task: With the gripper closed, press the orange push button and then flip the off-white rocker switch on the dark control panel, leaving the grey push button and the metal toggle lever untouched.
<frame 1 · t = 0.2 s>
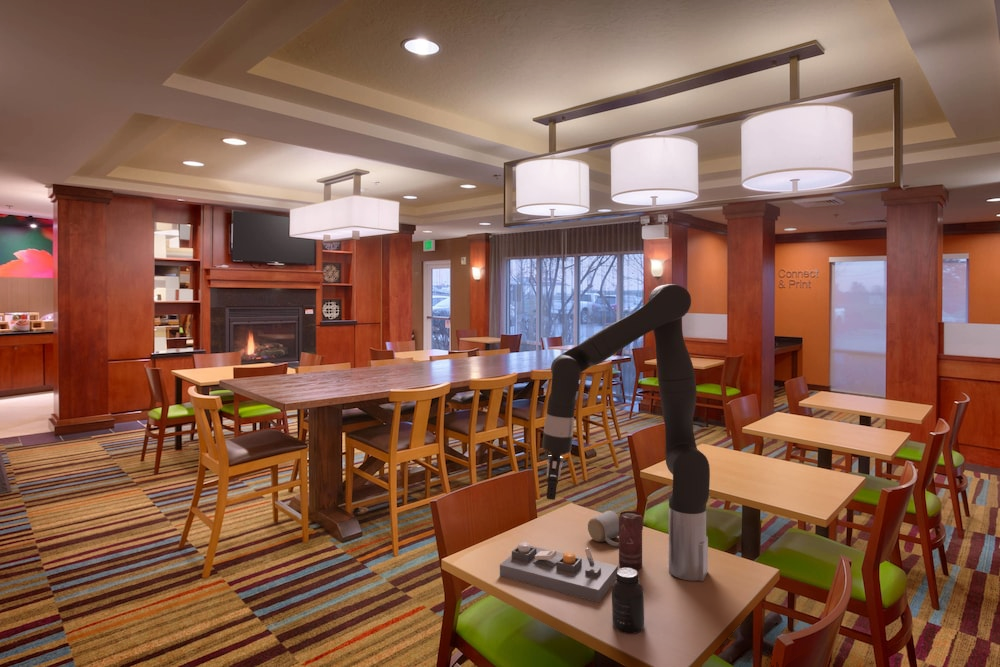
hand: (551, 493, 145), 21 cm above the table, tool pointing down, fingers open, 8 cm apart
rocker switch: (545, 555, 146), point 5 cm above the table, hinge at 14.0°
ceramic mug: (608, 540, 167), on the table
can: (631, 566, 150), on the table
control panel: (558, 576, 145), on the table
grey button: (524, 548, 150), point 5 cm above the table, slide at 0.0 cm
supplement bottle: (628, 626, 122), on the table
orange button: (569, 558, 143), point 5 cm above the table, slide at 0.0 cm
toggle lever: (589, 557, 140), point 7 cm above the table, hinge at 20.0°
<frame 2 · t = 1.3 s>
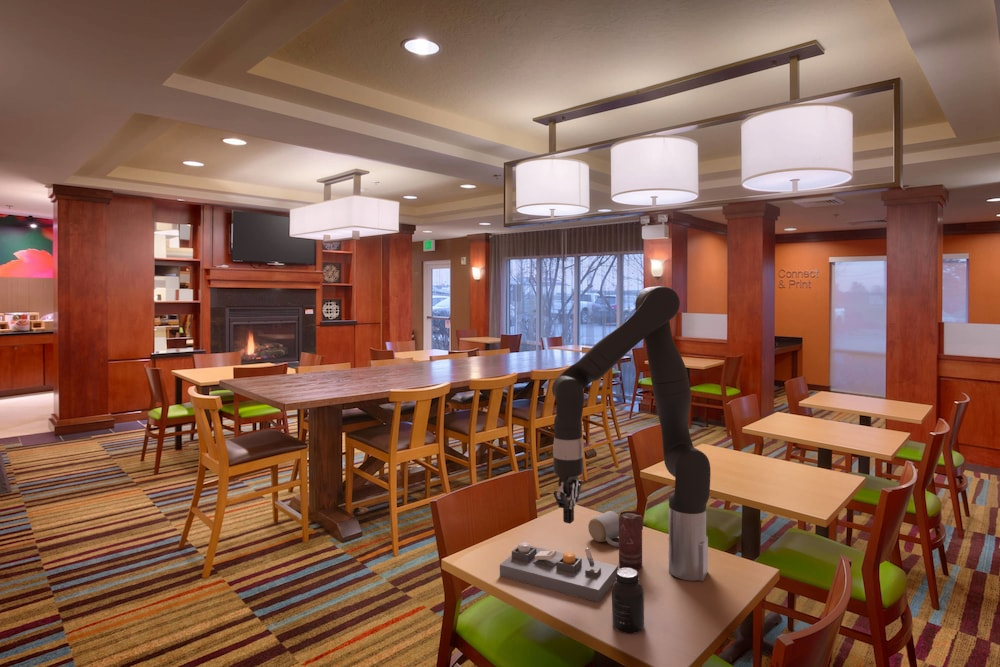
hand: (568, 521, 143), 15 cm above the table, tool pointing down, fingers closed
nothing on the table moved.
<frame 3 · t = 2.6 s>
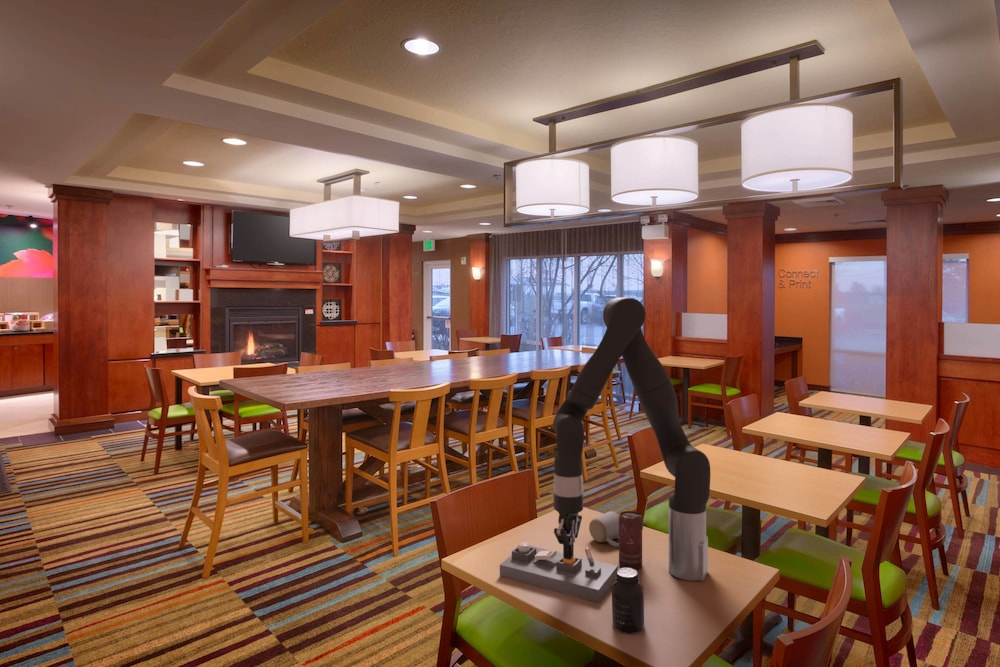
hand: (568, 557, 143), 6 cm above the table, tool pointing down, fingers closed
orange button: (569, 561, 143), point 5 cm above the table, slide at 0.6 cm, touching gripper
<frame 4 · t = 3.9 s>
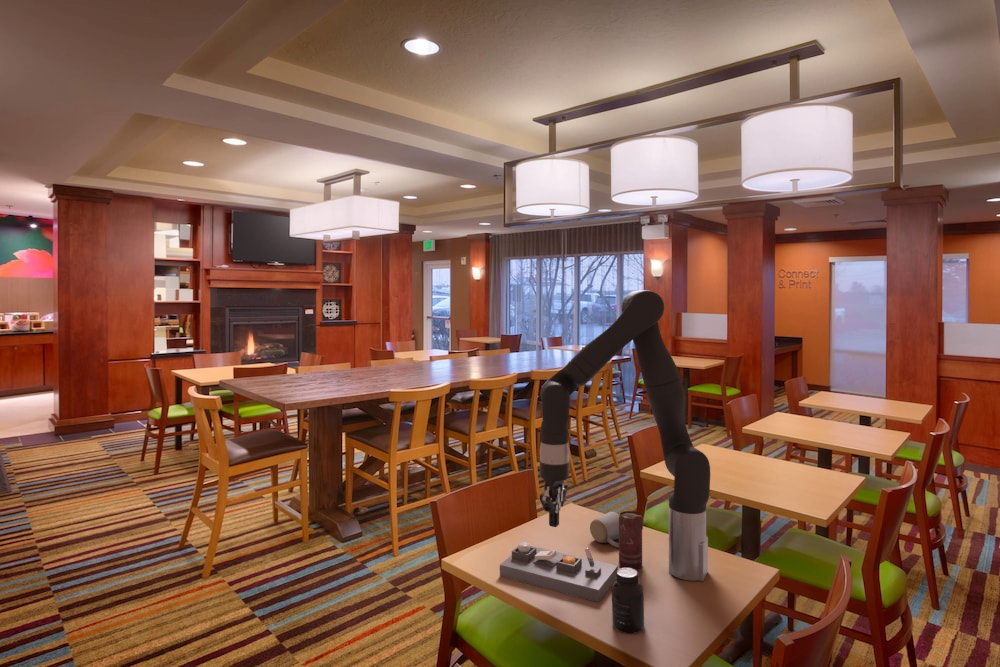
hand: (554, 525, 144), 13 cm above the table, tool pointing down, fingers closed
orange button: (569, 562, 143), point 4 cm above the table, slide at 0.9 cm
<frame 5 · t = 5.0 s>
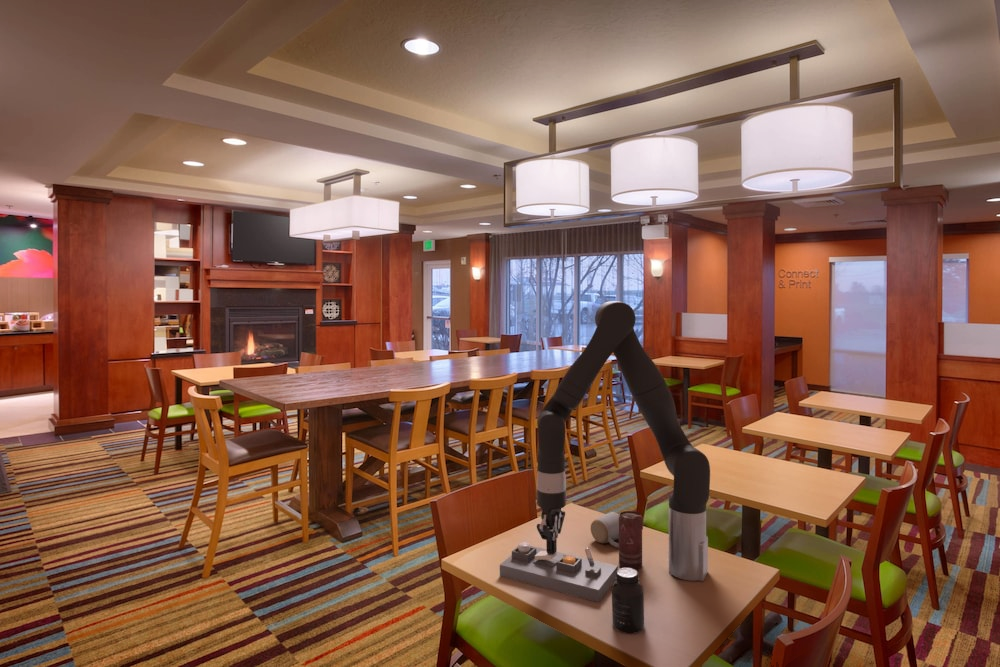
hand: (551, 552, 145), 6 cm above the table, tool pointing down, fingers closed
rocker switch: (545, 555, 146), point 5 cm above the table, hinge at 14.0°, touching gripper
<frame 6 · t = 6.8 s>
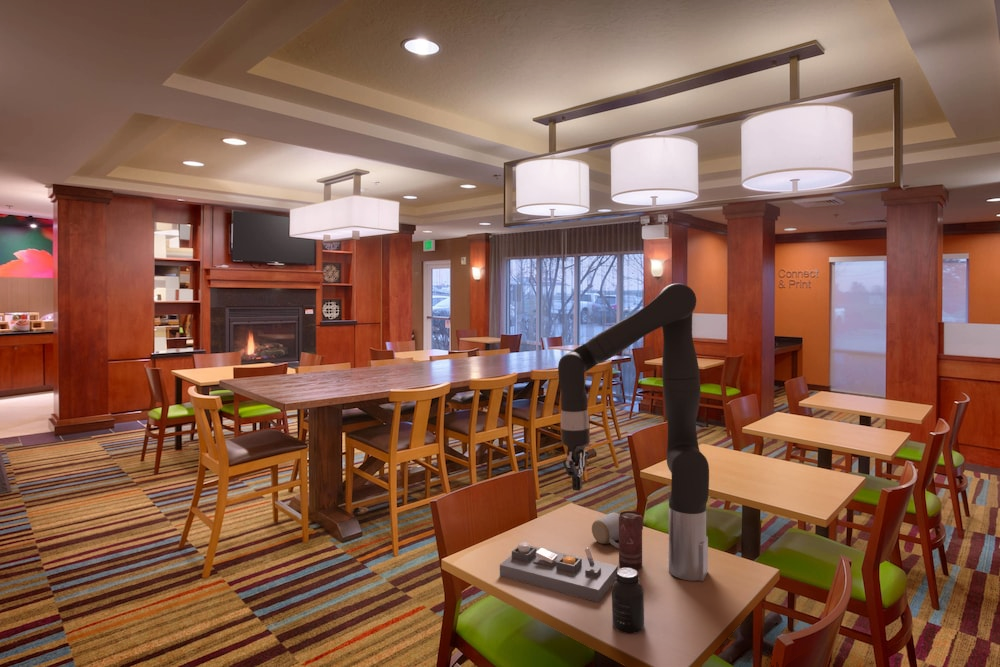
hand: (577, 489, 152), 20 cm above the table, tool pointing down, fingers closed
rocker switch: (546, 555, 146), point 5 cm above the table, hinge at -11.6°
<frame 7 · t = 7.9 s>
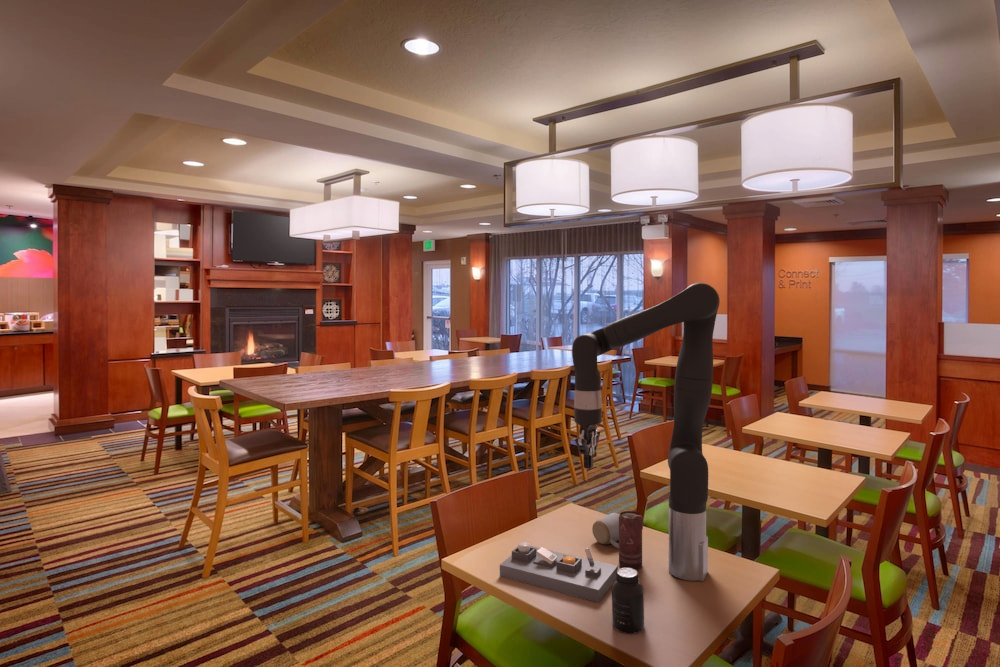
hand: (588, 467, 155), 25 cm above the table, tool pointing down, fingers closed
rocker switch: (546, 555, 146), point 5 cm above the table, hinge at -20.6°
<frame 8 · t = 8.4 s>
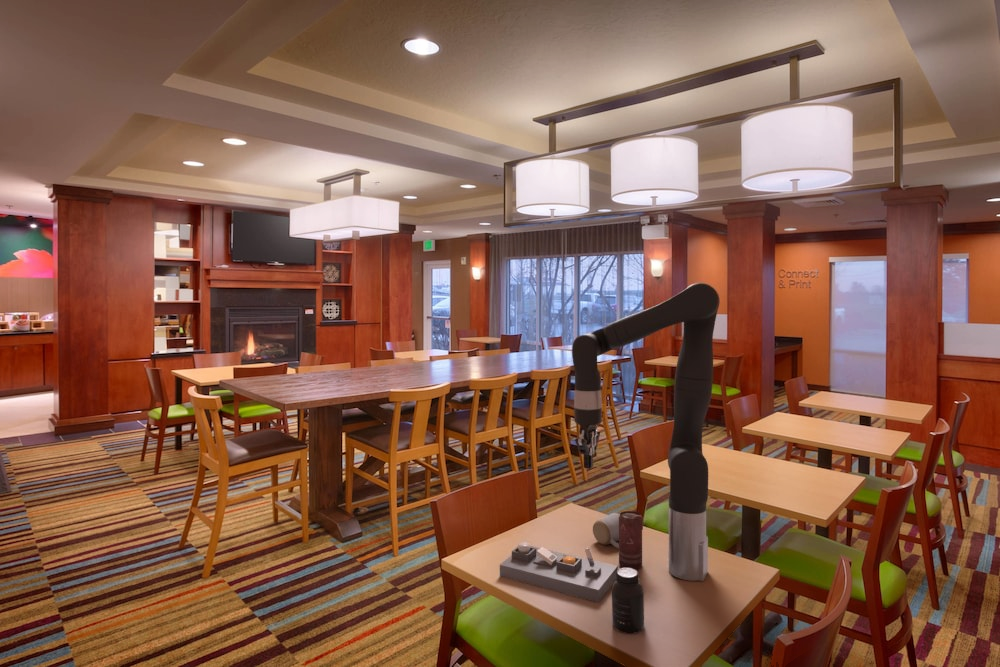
hand: (588, 467, 155), 25 cm above the table, tool pointing down, fingers closed
rocker switch: (546, 555, 146), point 5 cm above the table, hinge at -23.8°
at the end: orange button slide at 0.9 cm; rocker switch at -25° (first picture: +14°); grey button slide at 0.0 cm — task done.
